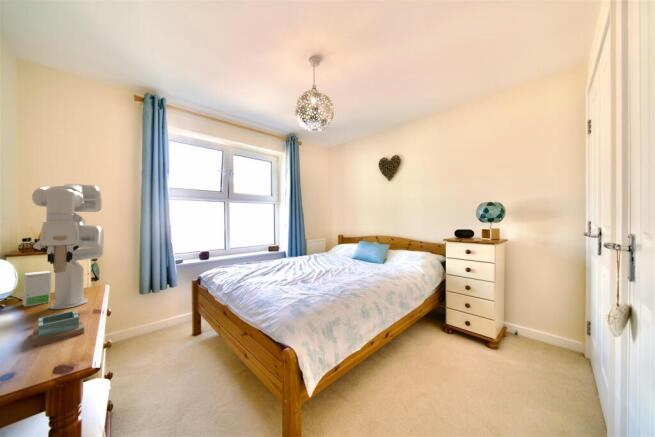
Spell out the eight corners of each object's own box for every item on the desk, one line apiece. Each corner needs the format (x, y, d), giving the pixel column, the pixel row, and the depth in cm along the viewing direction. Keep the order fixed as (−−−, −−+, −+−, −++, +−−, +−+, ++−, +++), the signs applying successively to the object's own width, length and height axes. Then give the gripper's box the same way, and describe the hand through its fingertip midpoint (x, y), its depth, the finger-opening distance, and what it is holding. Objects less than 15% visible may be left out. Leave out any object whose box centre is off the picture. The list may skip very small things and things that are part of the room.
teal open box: (32, 333, 86) (33, 317, 86) (79, 322, 95) (79, 308, 95) (32, 346, 77) (32, 329, 77) (83, 333, 87) (84, 317, 87)
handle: (49, 274, 89) (49, 236, 90) (52, 271, 94) (53, 235, 94) (67, 272, 93) (68, 236, 93) (70, 270, 97) (70, 235, 98)
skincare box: (24, 307, 110) (24, 275, 109) (22, 304, 113) (22, 273, 113) (51, 302, 117) (51, 271, 117) (48, 299, 120) (49, 270, 120)
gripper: (88, 218, 103) (88, 259, 102) (27, 218, 89) (26, 264, 89) (91, 218, 98) (90, 260, 98) (26, 218, 85) (26, 267, 85)
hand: (60, 262), depth 93 cm, fingers closed on handle, 3 cm apart
